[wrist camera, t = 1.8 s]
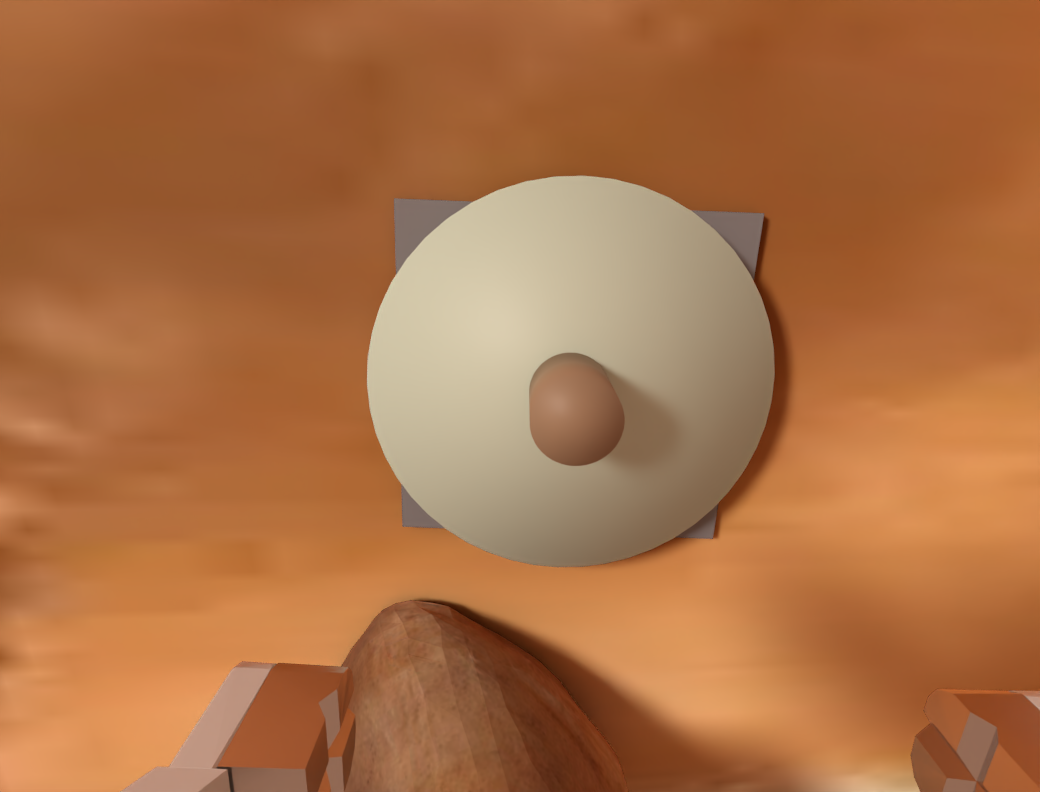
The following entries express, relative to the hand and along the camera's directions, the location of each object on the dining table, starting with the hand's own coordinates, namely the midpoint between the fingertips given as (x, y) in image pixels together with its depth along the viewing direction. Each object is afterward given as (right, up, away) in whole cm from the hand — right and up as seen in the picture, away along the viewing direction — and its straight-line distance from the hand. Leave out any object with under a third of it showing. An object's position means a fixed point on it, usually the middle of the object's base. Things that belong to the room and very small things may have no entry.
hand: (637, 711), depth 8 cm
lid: (0, +5, +16) cm, 17 cm away
